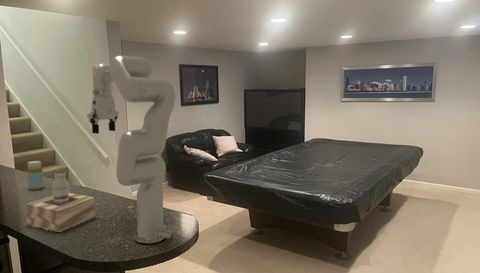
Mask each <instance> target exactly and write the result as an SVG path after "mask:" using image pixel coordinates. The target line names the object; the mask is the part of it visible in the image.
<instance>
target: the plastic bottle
mask: <svg viewBox="0 0 480 273" xmlns="http://www.w3.org/2000/svg"><path fill="white" fill-rule="evenodd" d="M54 178H55V179H54V180H53V181H52V184H51V189H52V190H51V191H52V194H53V196H54V205H56V206H61V205H64V204H67V203H69V193H70V182H69V181H68V179H66V172H65V171H55V172H54Z"/></svg>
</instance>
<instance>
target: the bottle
mask: <svg viewBox="0 0 480 273" xmlns="http://www.w3.org/2000/svg"><path fill="white" fill-rule="evenodd" d="M26 172H27V186H28V190H29V191H40V190H42V189H43V188H44V173H43V172H44V171H43V168H42V161H41V160H32V161H27V171H26Z"/></svg>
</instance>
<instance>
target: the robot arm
mask: <svg viewBox="0 0 480 273" xmlns="http://www.w3.org/2000/svg"><path fill="white" fill-rule="evenodd" d="M91 71H92V88H93V89H92V91H91V92H92V94H93V95H92V99H91V111H89V113H87V114H86V116H87V119H88V121H89V123H90V124H91V131H92V134H99V133H100V127H99V126H100V125H99V124H98V123H99V122H100V120H101V121H103V120H105V121H106V120H108V131H110V132H116V122H117V119H118V117H119V111H117V110H116V104H115V99H114V96H113V92H112V88H113V85H112V83H115V85H116V87H117V89H118V91H119V93H120V95H121V97H122V98H123V100H125V101H126V102H129V103H132V104H133V103H134V104H135V103H153V104H152V105H151V106H150V107H149V108H148V110H147V111H146V113H145V114H144V118H143V124H142V127H141V129H133V130H132V129H131V130H127V131H125V132H124V133H122V134H121V137H120V138H119V141H118V149H117V159H116V160H117V161H116V166H115V167H116V171H115V172H116V173H115V174H116V179H117V182H118V183H119V184H120V185H121V186H124V187H125V186H126V187H128V186H134V185H139V186H138V188H137V192H136V219H137V220H136V221H137V227H136V228H137V232H138V237H140V238H144V239H147V238H158V237H160V238H161V237H164V238H166V239H168V238H169V237H170V238H171V235H172V230H168V229H167V225H165V224H164V179H165V174H166V167H167V166H166V163H165V160H164V158H162V157H161V156H159V154H161V153H162V152H164V150H165V148H166V142H167V135H168V131H169V122H170V117H171V115H172V113H173V109H174V107H175V102H176V91H175V87H174V85H173V84H172V83H171V81H169V80H167V79H165V78H161V77H160V78H158V77H151V76H152V74H153V65H152V63H151V62H150V61H149V60H148V59H146V58H144V57H141V56H140V57H139V56H128V55H117V56H114V57H113V58H112V59H111V61H110V63H104V62H103V63H102V62H101V63H98V64H94V65H93V66H92V70H91ZM170 238H169V239H170Z"/></svg>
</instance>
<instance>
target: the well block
mask: <svg viewBox="0 0 480 273" xmlns="http://www.w3.org/2000/svg"><path fill="white" fill-rule="evenodd" d="M95 201H96V199H95V197H93V196H89V195H83V194H79V193H72V192H69V203H67V204H64V205H61V206H56V205H54V196H53V195H50V196H46V197H44V198H40V199H37V200H33V201H31V202H28V203H25V213H26V225H27V226H29V227H33V228H36V227H37V229H40V228H42V229H41V230H44V229H45V231H48V230H50V231H49V232H52V231H54V232H53V233H56V232H61V233H63V232H65V231H67V230H66V229H68V230H70V229H72V228H75V227H77V226H79V225H81V224H83V223H82V222H84V223H85V221H86V222H88V221H90V220H93V219H94V217H95V218H96V208H95V207H96V206H95V205H96V204H95V203H96V202H95ZM92 218H93V219H92ZM87 220H88V221H87ZM80 223H81V224H80ZM78 224H79V225H78ZM76 225H77V226H76ZM71 227H72V228H71ZM69 228H70V229H69ZM64 230H65V231H64ZM62 231H63V232H62Z"/></svg>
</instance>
